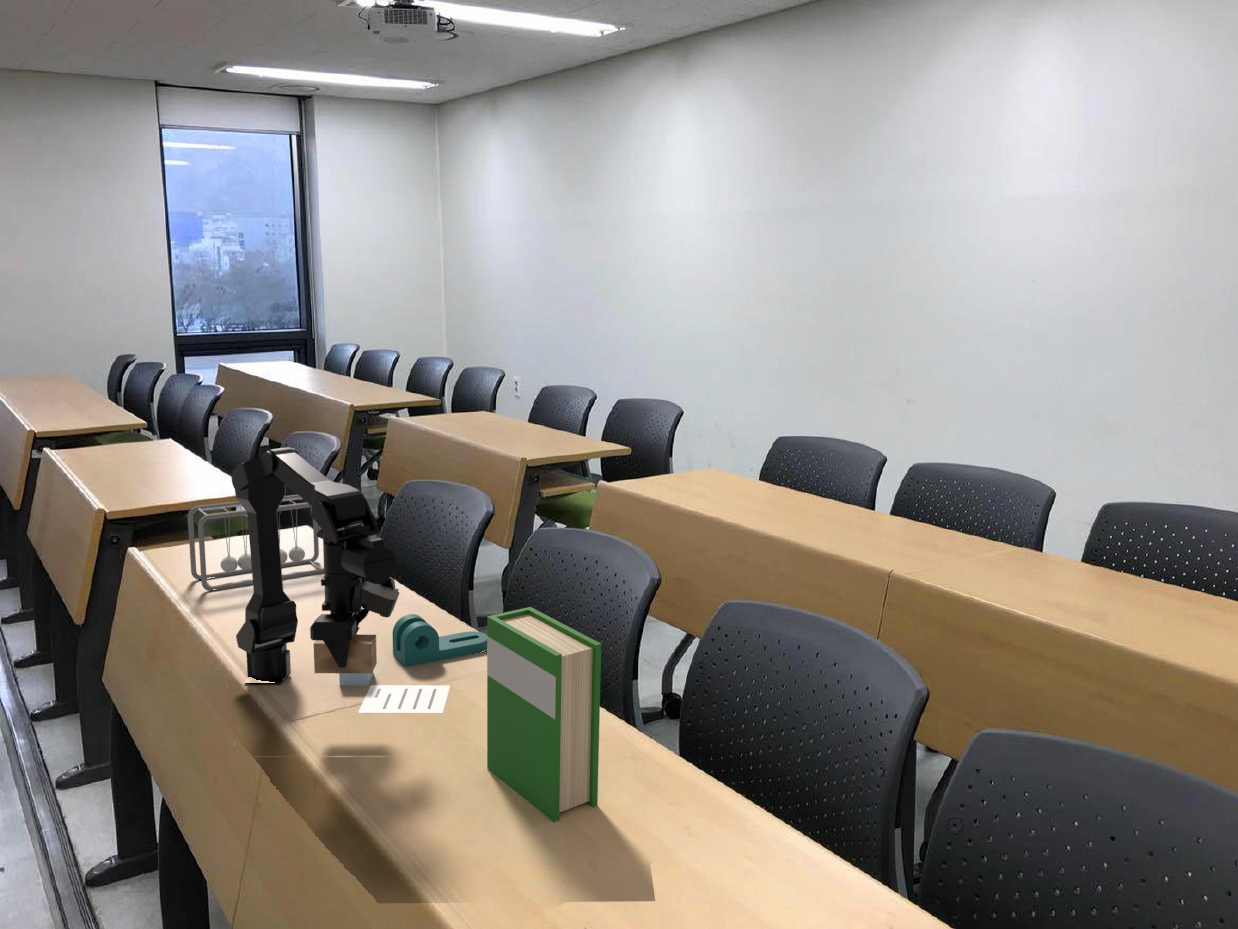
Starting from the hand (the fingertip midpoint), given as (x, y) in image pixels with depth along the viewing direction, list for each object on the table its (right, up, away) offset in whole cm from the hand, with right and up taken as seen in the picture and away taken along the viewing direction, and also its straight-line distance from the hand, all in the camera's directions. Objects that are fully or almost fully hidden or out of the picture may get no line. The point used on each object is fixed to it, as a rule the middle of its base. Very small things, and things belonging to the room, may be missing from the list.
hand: (345, 661), depth 158 cm
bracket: (+10, -5, +32) cm, 34 cm away
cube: (-3, -7, +19) cm, 20 cm away
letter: (+7, -9, +11) cm, 16 cm away
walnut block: (0, -1, 0) cm, 1 cm away
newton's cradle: (-40, +5, +75) cm, 85 cm away
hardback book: (+33, -15, -16) cm, 39 cm away
